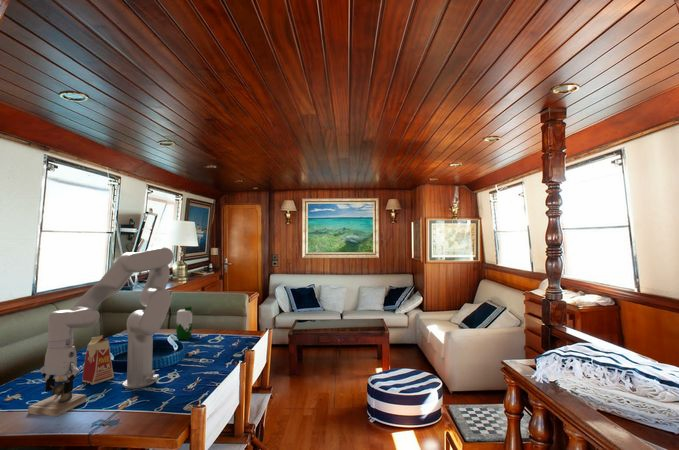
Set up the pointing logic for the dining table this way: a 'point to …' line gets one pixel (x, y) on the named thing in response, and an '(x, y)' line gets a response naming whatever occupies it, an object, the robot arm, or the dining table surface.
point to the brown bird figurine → (61, 393)
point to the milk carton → (97, 361)
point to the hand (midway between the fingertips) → (59, 391)
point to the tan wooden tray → (55, 405)
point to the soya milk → (184, 323)
